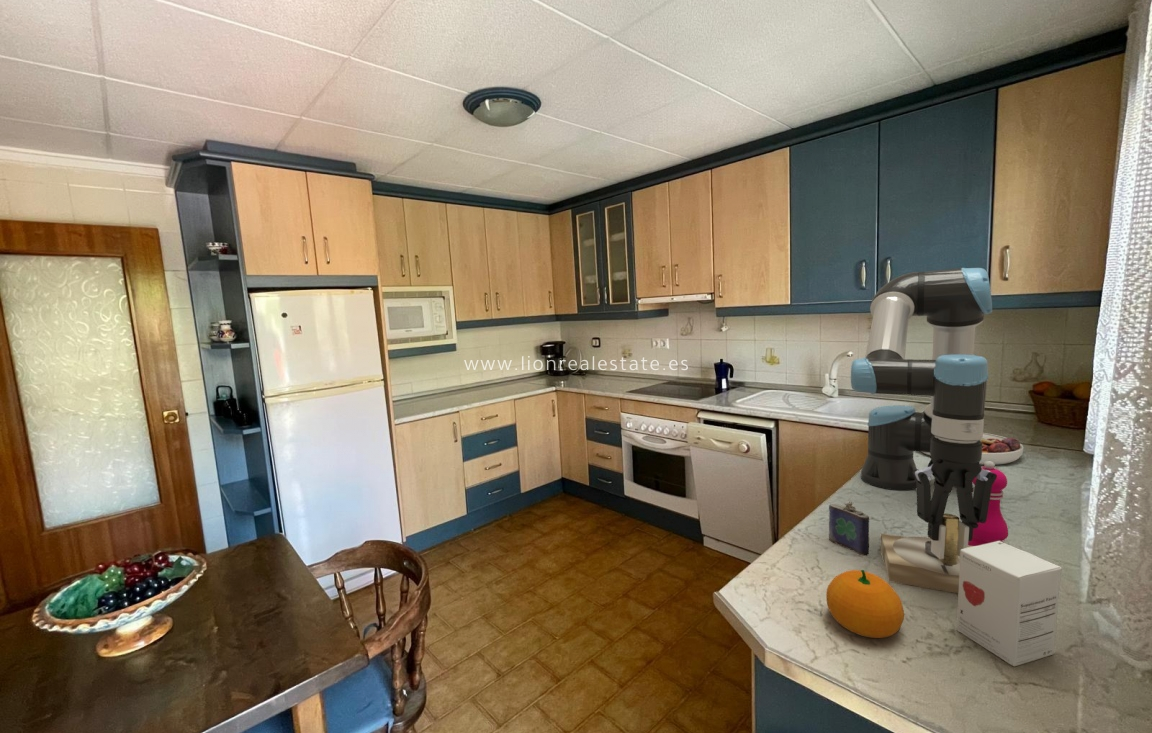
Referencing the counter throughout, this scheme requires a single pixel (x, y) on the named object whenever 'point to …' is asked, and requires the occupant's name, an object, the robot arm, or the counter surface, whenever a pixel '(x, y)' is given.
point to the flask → (849, 528)
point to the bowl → (999, 449)
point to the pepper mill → (992, 512)
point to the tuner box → (917, 564)
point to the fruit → (865, 604)
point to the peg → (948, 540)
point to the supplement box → (1008, 601)
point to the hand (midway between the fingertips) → (948, 555)
